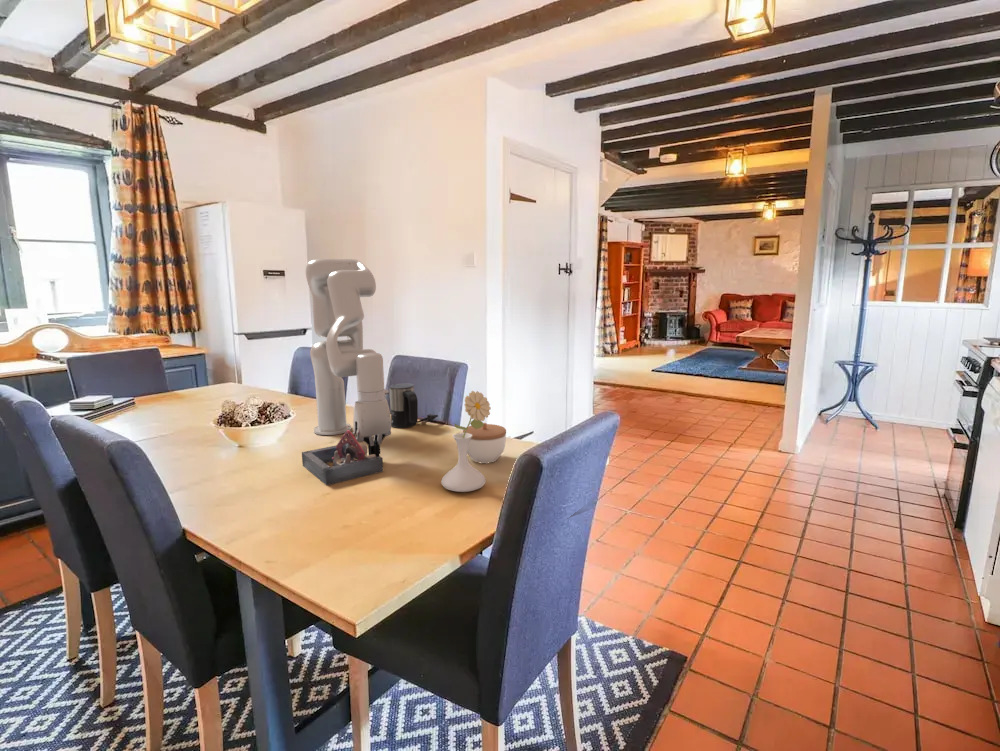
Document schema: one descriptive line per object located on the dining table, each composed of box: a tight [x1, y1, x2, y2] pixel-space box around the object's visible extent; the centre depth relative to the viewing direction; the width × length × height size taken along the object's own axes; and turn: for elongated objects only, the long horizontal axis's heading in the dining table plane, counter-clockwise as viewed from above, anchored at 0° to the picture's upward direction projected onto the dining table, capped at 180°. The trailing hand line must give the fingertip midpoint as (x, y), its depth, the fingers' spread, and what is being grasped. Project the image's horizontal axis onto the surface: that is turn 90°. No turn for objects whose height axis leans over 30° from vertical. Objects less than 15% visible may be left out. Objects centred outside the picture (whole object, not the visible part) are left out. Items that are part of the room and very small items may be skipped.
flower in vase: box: [440, 390, 491, 493], centre depth 136 cm, size 13×11×25 cm
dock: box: [301, 444, 384, 486], centre depth 152 cm, size 19×16×4 cm
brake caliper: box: [332, 430, 376, 466], centre depth 153 cm, size 11×11×12 cm
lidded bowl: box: [462, 422, 507, 464], centre depth 158 cm, size 13×13×11 cm
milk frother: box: [388, 382, 439, 429], centre depth 196 cm, size 14×16×15 cm
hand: (374, 457), depth 158 cm, fingers closed
